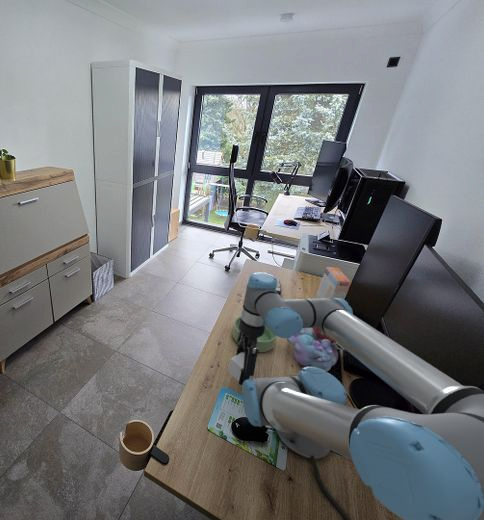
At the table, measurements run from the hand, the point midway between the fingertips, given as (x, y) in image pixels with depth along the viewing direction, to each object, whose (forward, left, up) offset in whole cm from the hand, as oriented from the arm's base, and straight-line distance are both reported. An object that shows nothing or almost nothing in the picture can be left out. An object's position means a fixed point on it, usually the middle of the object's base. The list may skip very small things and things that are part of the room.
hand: (240, 373), depth 98 cm
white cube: (0, 0, 0) cm, 0 cm away
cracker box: (+54, -51, -8) cm, 75 cm away
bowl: (+27, -11, -8) cm, 30 cm away
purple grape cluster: (+20, -33, -8) cm, 40 cm away
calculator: (+70, -28, -8) cm, 76 cm away
